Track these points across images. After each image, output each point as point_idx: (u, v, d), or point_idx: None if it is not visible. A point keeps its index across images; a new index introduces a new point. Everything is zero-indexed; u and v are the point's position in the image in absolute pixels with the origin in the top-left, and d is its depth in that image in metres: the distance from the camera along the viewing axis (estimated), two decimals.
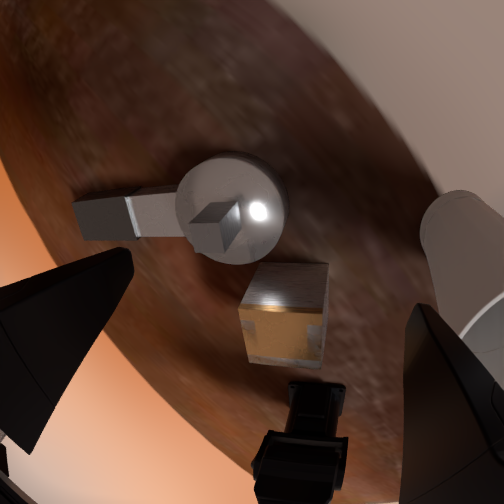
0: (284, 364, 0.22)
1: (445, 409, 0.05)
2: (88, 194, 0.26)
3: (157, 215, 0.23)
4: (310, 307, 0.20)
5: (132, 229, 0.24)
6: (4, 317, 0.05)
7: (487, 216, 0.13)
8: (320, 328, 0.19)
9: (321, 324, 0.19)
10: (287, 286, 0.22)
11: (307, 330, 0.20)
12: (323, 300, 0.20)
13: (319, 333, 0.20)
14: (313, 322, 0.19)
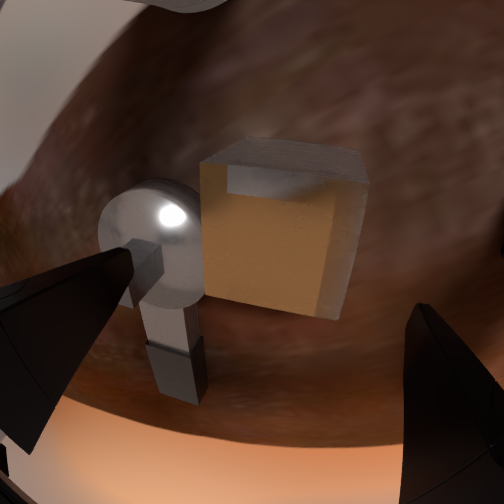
0: (347, 259, 0.10)
1: (445, 409, 0.05)
2: None
3: (163, 324, 0.21)
4: None
5: (178, 356, 0.22)
6: (4, 317, 0.05)
7: None
8: (234, 168, 0.10)
9: (226, 165, 0.10)
10: None
11: (241, 194, 0.10)
12: None
13: (249, 172, 0.10)
14: (220, 180, 0.10)
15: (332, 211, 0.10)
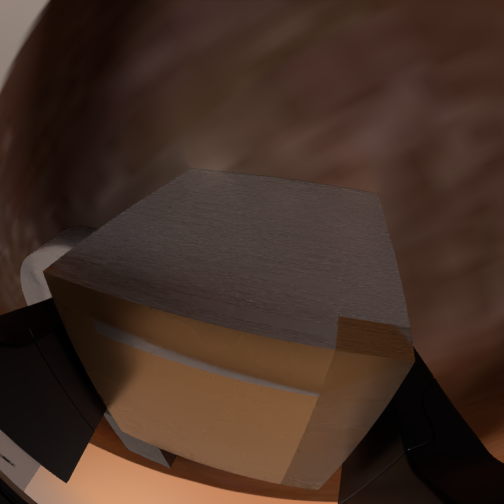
0: (338, 451, 0.05)
1: None
2: None
3: None
4: None
5: None
6: (42, 341, 0.05)
7: None
8: (94, 295, 0.04)
9: (82, 285, 0.04)
10: None
11: (121, 341, 0.04)
12: (95, 235, 0.05)
13: (121, 308, 0.04)
14: (80, 310, 0.04)
15: (313, 400, 0.04)
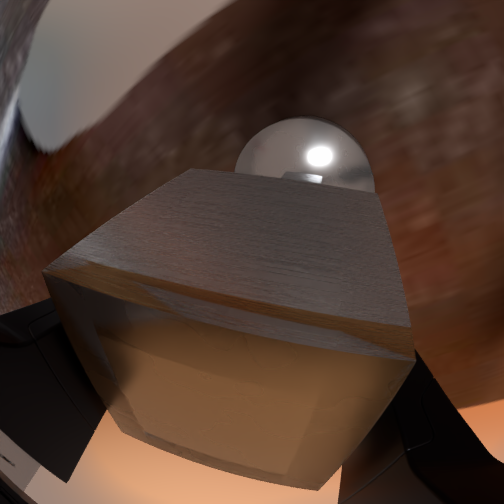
0: (338, 452, 0.04)
1: None
2: None
3: None
4: None
5: None
6: (42, 341, 0.05)
7: None
8: (93, 295, 0.04)
9: (81, 285, 0.04)
10: None
11: (120, 342, 0.04)
12: (94, 235, 0.05)
13: (120, 309, 0.04)
14: (79, 310, 0.04)
15: (314, 401, 0.04)
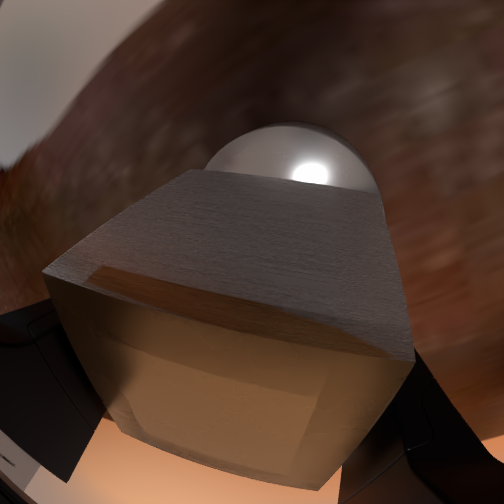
0: (338, 452, 0.04)
1: None
2: None
3: None
4: None
5: None
6: (42, 341, 0.05)
7: None
8: (93, 295, 0.04)
9: (81, 285, 0.04)
10: None
11: (120, 342, 0.04)
12: (94, 235, 0.05)
13: (120, 309, 0.04)
14: (78, 310, 0.04)
15: (313, 402, 0.04)
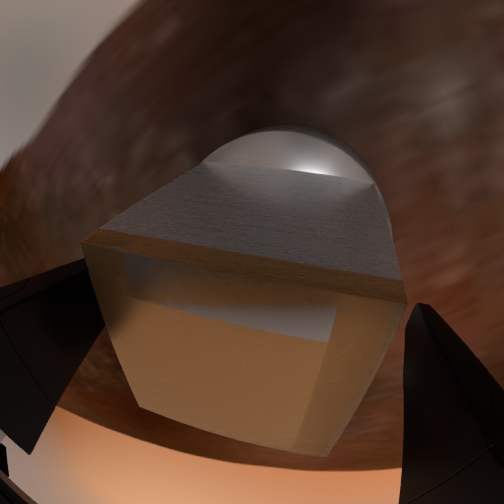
0: (345, 406, 0.05)
1: (445, 409, 0.05)
2: None
3: None
4: None
5: None
6: (4, 317, 0.05)
7: None
8: (132, 259, 0.05)
9: (121, 251, 0.05)
10: None
11: (153, 302, 0.05)
12: (125, 214, 0.06)
13: (158, 269, 0.05)
14: (115, 275, 0.05)
15: (324, 347, 0.05)
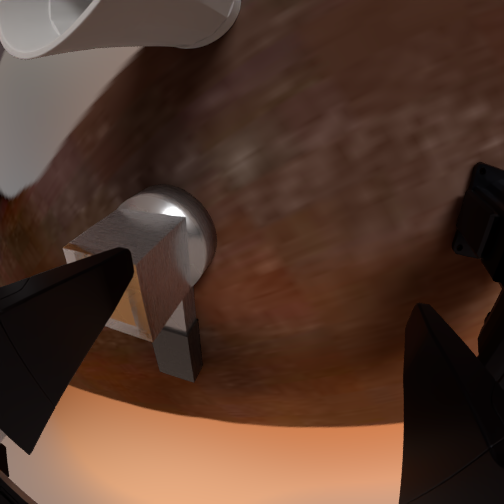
0: (140, 306, 0.16)
1: (445, 409, 0.05)
2: None
3: None
4: None
5: (176, 335, 0.26)
6: (4, 317, 0.05)
7: None
8: (76, 252, 0.16)
9: (73, 250, 0.16)
10: None
11: None
12: (78, 237, 0.17)
13: (82, 255, 0.15)
14: (73, 258, 0.16)
15: None
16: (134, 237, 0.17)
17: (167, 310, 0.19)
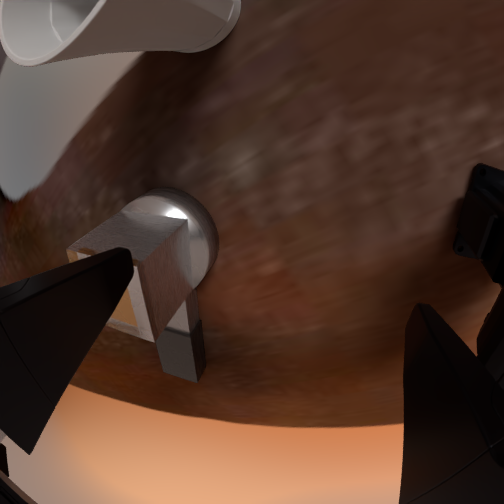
0: (142, 307, 0.16)
1: (445, 409, 0.05)
2: None
3: None
4: None
5: (180, 336, 0.26)
6: (4, 317, 0.05)
7: None
8: (79, 254, 0.16)
9: (77, 252, 0.16)
10: None
11: None
12: (81, 239, 0.17)
13: (85, 257, 0.16)
14: (76, 259, 0.16)
15: None
16: (136, 239, 0.17)
17: (169, 311, 0.19)
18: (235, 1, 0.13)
